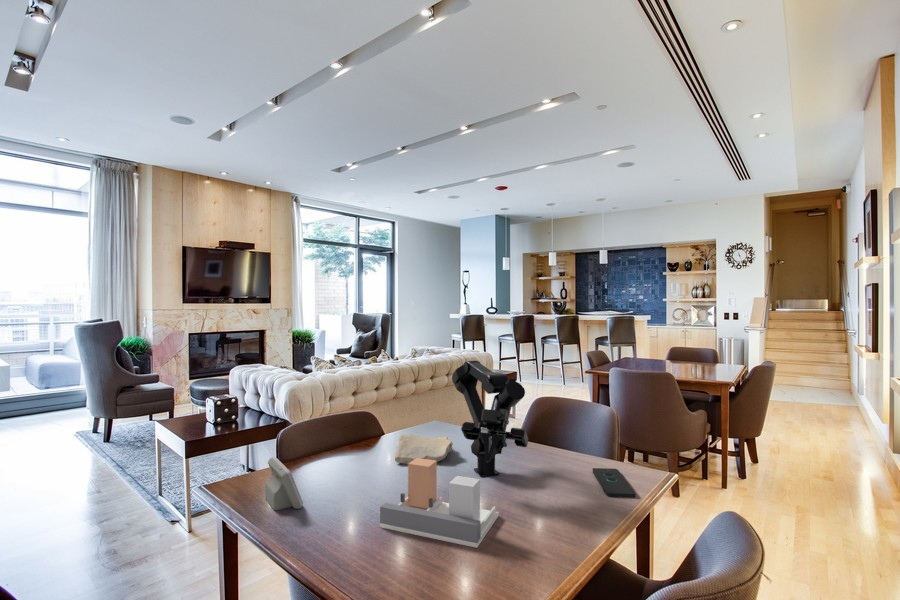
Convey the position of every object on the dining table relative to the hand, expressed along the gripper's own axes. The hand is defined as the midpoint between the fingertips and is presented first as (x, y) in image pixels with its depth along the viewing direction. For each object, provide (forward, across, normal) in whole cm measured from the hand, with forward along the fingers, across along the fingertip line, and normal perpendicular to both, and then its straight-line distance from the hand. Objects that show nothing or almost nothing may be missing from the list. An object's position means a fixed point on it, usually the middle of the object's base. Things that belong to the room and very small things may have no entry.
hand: (487, 461), depth 131 cm
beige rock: (-12, -34, +29) cm, 47 cm away
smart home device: (-11, +30, +28) cm, 43 cm away
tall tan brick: (+15, -14, -1) cm, 21 cm away
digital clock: (+24, -51, -8) cm, 57 cm away
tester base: (+19, -7, -4) cm, 20 cm away
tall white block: (+20, +1, -6) cm, 21 cm away
